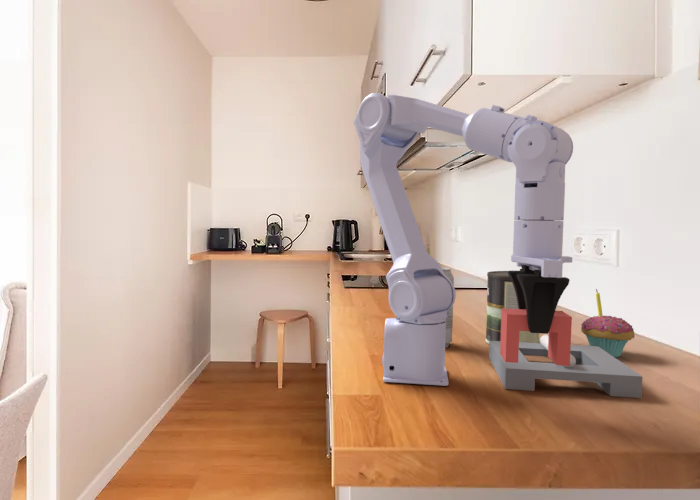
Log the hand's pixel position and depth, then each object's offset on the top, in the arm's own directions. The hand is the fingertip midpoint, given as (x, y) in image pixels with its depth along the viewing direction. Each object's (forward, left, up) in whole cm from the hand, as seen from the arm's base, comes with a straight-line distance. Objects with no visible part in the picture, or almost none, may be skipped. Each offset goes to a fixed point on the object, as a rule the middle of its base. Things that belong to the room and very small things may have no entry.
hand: (534, 328), depth 58 cm
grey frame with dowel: (+7, +15, -10) cm, 19 cm away
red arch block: (0, 0, -4) cm, 4 cm away
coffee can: (+4, +34, -11) cm, 36 cm away
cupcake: (+20, +30, -11) cm, 37 cm away
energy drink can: (-11, +30, -11) cm, 34 cm away
